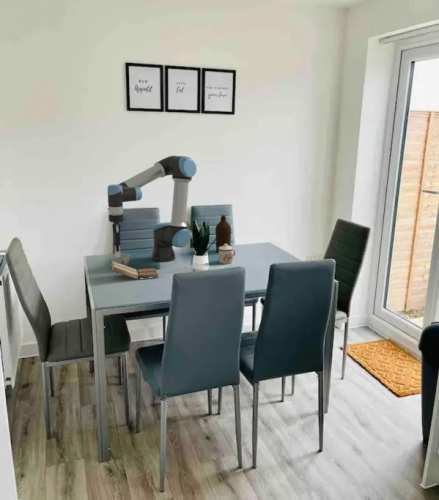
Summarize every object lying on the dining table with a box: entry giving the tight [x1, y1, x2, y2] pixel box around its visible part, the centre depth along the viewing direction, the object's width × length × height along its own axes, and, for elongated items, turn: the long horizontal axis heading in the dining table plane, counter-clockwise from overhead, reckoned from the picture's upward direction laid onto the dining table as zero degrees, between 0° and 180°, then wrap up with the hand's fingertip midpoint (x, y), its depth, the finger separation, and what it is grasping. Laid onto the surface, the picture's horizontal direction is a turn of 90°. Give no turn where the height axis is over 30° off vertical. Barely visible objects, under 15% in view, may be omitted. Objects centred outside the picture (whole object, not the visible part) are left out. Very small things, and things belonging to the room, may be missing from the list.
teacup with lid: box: [218, 244, 236, 265], centre depth 275 cm, size 12×9×12 cm
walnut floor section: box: [136, 267, 159, 279], centre depth 249 cm, size 12×10×2 cm
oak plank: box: [110, 261, 139, 280], centre depth 245 cm, size 12×14×2 cm
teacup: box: [107, 252, 131, 266], centre depth 262 cm, size 15×12×8 cm
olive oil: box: [214, 214, 232, 254], centre depth 297 cm, size 11×11×25 cm
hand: (117, 256), depth 242 cm, fingers closed
